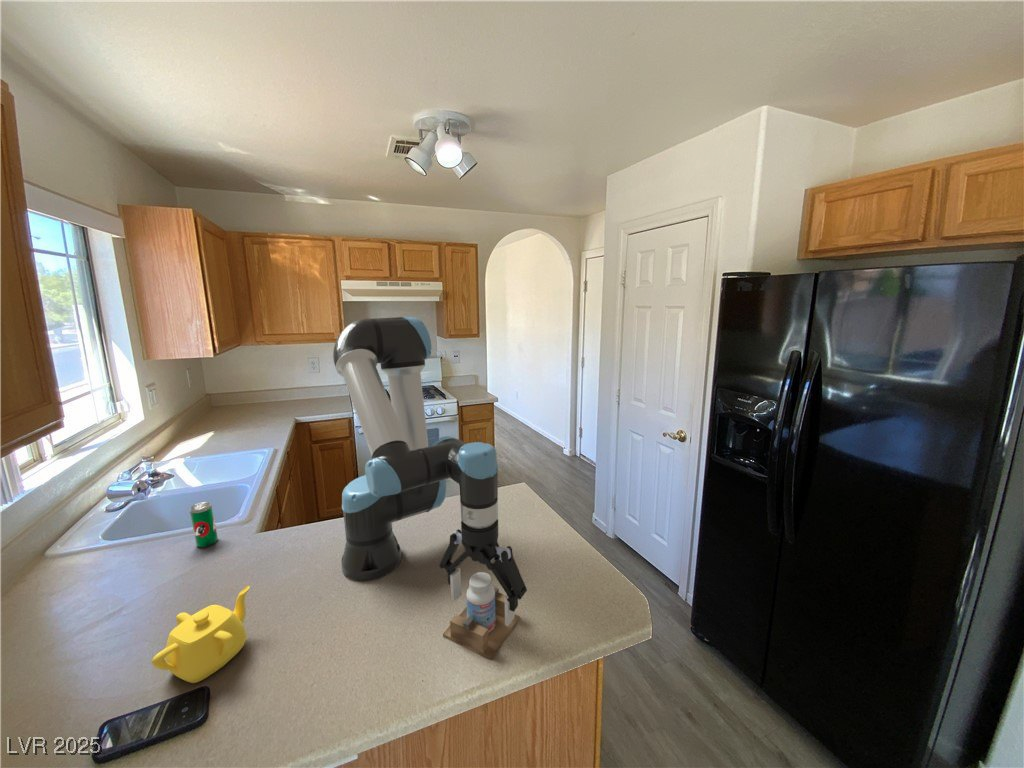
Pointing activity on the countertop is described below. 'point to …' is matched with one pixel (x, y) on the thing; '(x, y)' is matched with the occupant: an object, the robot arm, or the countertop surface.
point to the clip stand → (481, 630)
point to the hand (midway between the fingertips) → (482, 609)
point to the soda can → (203, 524)
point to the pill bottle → (481, 600)
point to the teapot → (204, 641)
